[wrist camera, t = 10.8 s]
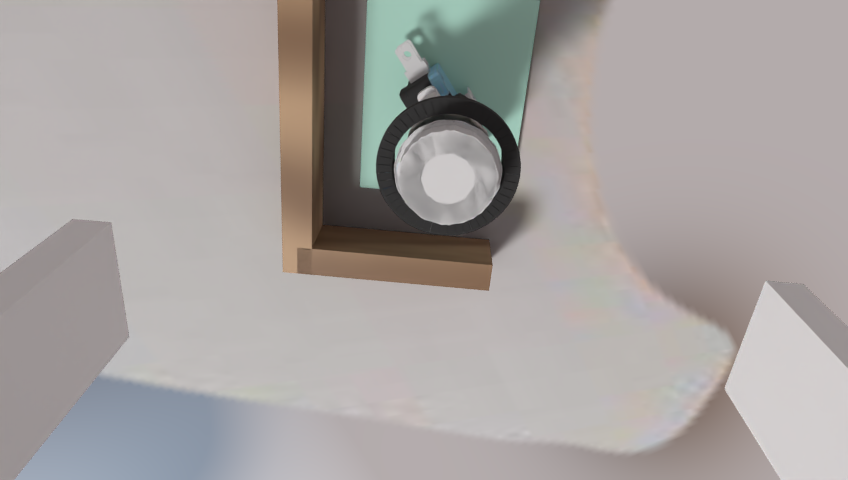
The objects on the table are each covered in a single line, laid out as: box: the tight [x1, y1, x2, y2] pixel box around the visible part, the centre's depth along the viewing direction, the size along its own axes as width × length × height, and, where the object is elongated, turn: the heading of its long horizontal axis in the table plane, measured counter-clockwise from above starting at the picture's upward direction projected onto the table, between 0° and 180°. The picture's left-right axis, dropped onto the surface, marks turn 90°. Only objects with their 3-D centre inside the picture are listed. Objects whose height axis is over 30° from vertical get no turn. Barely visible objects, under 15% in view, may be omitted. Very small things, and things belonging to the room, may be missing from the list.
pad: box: [360, 0, 540, 189], centre depth 31 cm, size 10×8×1 cm
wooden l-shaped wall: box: [277, 0, 493, 291], centre depth 28 cm, size 24×11×3 cm, turn 175°
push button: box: [376, 40, 521, 235], centre depth 26 cm, size 7×5×10 cm
